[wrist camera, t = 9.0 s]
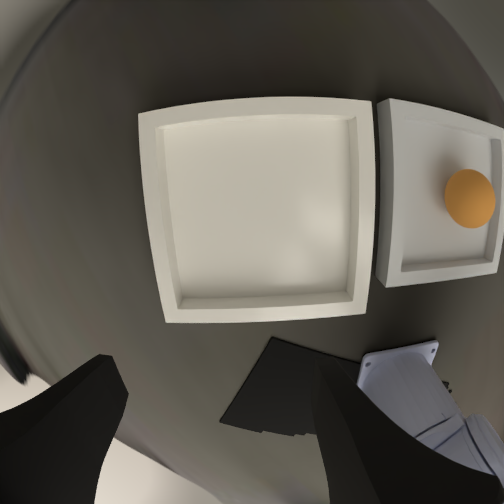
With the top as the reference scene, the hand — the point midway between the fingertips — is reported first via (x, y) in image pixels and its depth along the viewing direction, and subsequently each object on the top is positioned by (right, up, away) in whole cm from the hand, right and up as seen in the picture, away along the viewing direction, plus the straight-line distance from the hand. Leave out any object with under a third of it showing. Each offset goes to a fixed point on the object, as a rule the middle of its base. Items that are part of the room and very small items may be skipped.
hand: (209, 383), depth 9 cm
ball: (+16, +9, +7) cm, 19 cm away
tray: (+16, +9, +8) cm, 20 cm away
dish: (+2, +7, +9) cm, 11 cm away
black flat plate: (+14, -13, +15) cm, 25 cm away
